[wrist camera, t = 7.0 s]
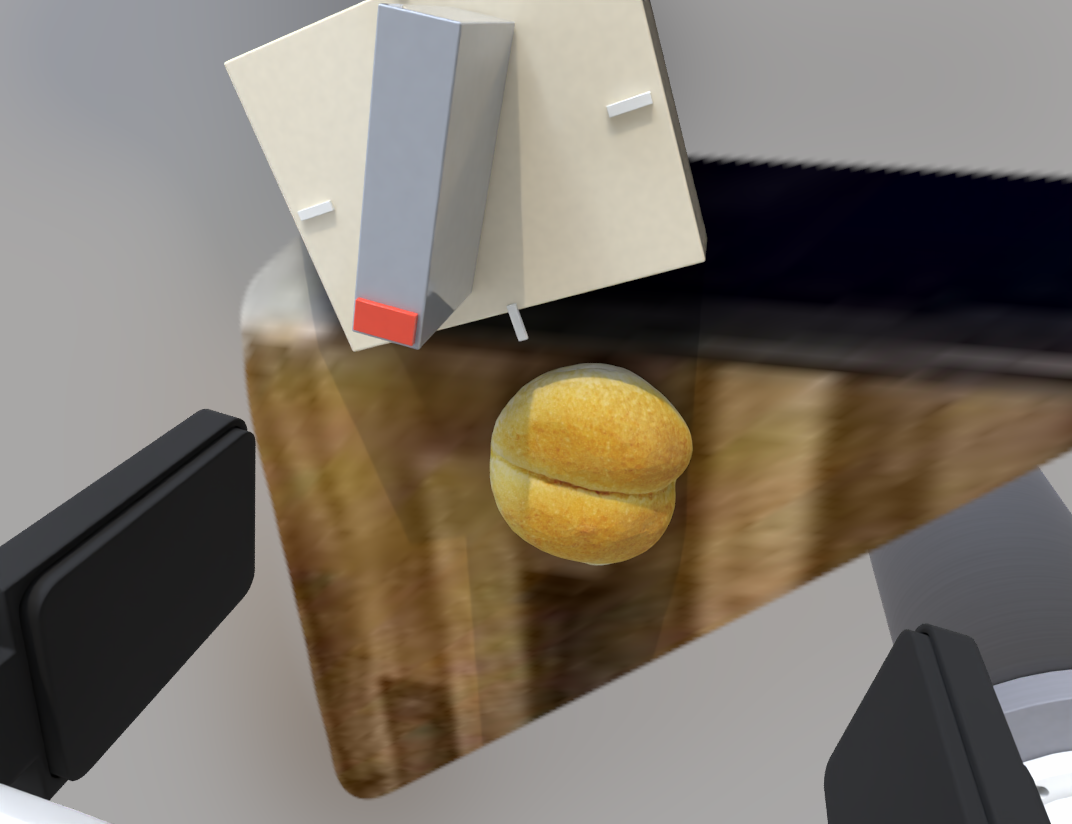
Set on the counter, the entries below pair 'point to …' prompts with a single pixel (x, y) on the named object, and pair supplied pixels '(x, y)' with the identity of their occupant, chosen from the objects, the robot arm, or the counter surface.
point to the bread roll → (588, 463)
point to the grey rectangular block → (427, 165)
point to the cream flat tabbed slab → (496, 152)
